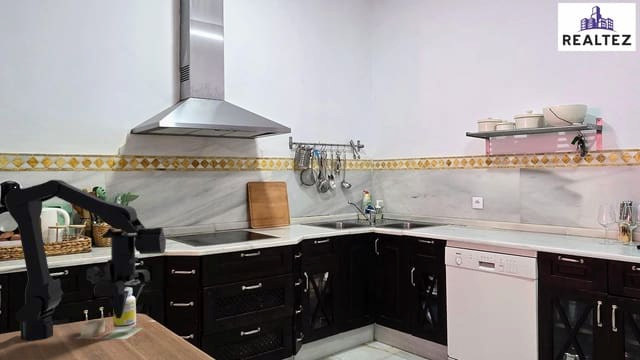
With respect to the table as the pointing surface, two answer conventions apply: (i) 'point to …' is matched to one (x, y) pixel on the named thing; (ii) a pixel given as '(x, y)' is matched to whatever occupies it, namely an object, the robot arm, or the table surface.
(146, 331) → the table surface
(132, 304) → the supplement bottle
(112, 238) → the robot arm
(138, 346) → the table surface
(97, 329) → the beech block
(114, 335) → the sorting board
